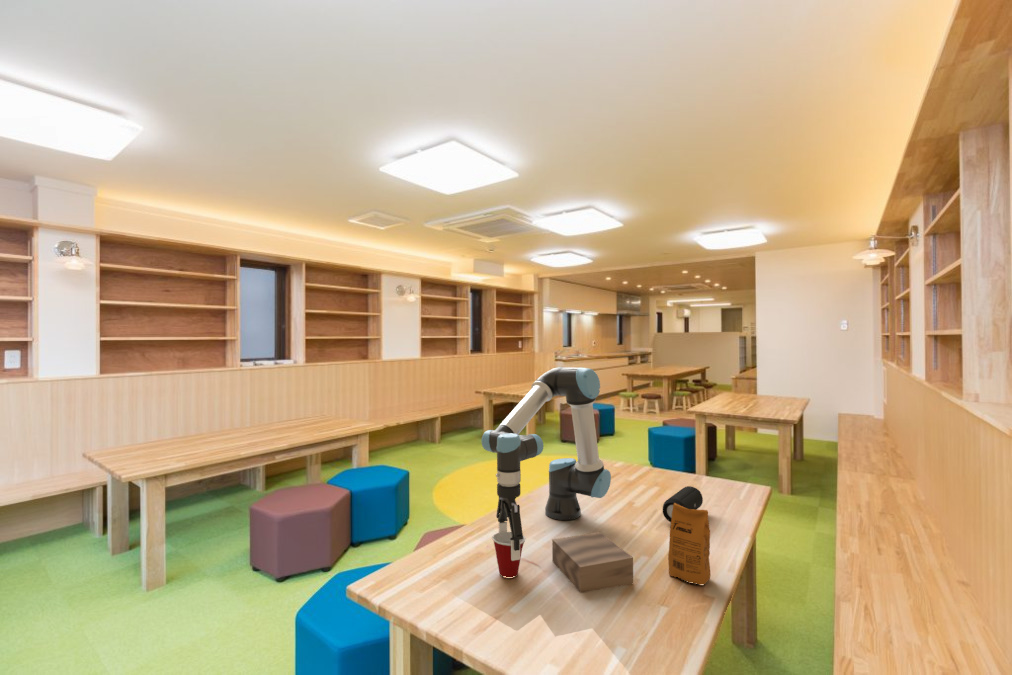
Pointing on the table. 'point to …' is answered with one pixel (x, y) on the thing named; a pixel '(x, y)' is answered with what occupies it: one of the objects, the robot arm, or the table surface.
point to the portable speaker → (683, 501)
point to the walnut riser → (592, 561)
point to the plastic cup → (506, 554)
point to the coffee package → (689, 545)
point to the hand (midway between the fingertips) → (509, 550)
